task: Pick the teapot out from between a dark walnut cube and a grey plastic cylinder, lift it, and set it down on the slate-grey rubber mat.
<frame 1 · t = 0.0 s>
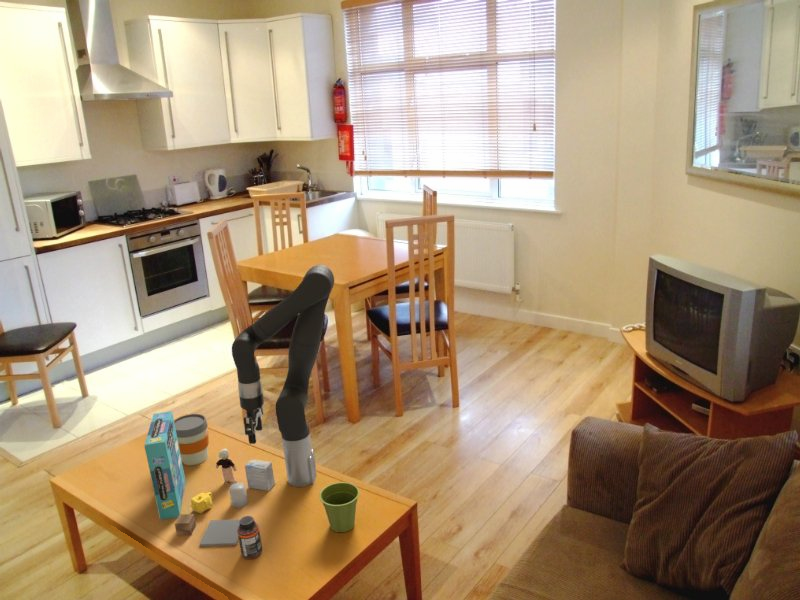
hand: (255, 436, 220), 17 cm above the table, tool pointing down, fingers open, 8 cm apart
slate mat: (223, 533, 200), on the table
grey cylinder: (239, 503, 214), on the table
walnut cube: (186, 530, 203), on the table
reusable coffee cup: (195, 458, 242), on the table
grandmother figurine: (229, 482, 226), on the table
medicine box: (261, 486, 223), on the table
game box: (173, 500, 218), on the table
supplement bottle: (252, 553, 191), on the table
teapot: (203, 510, 212), on the table
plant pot: (343, 525, 200), on the table
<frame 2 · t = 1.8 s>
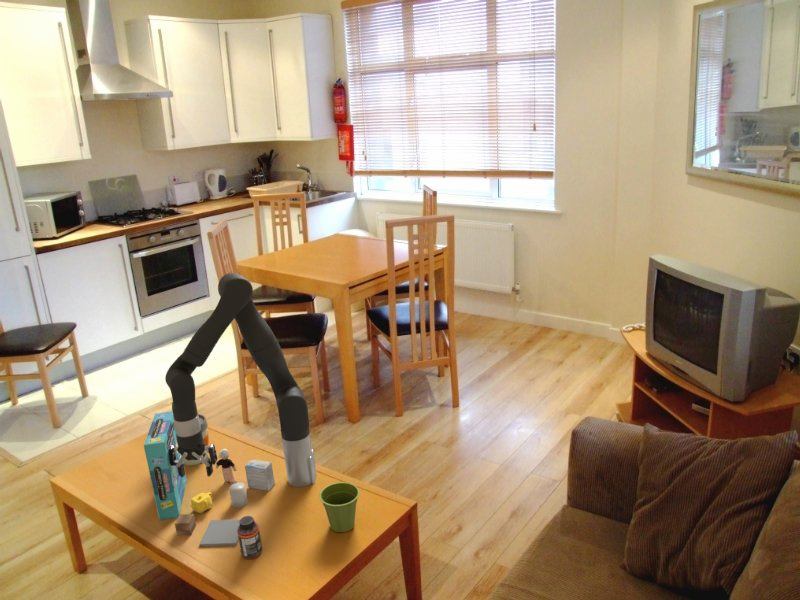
hand: (196, 475, 208), 13 cm above the table, tool pointing down, fingers open, 8 cm apart
nothing on the table moved.
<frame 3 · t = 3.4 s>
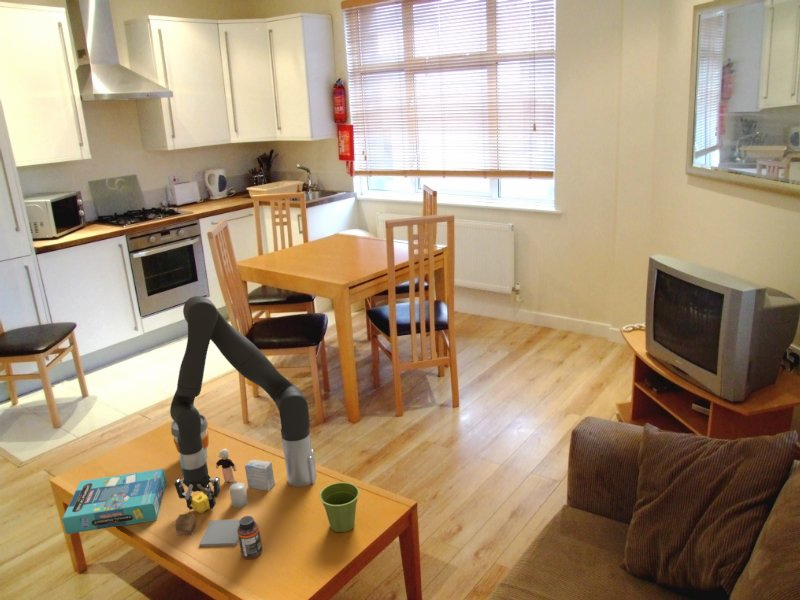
hand: (201, 507, 212), 1 cm above the table, tool pointing down, fingers closed on teapot, 6 cm apart
game box: (161, 493, 217), point 3 cm above the table
teapot: (203, 510, 212), on the table, touching gripper
everything else where it was.
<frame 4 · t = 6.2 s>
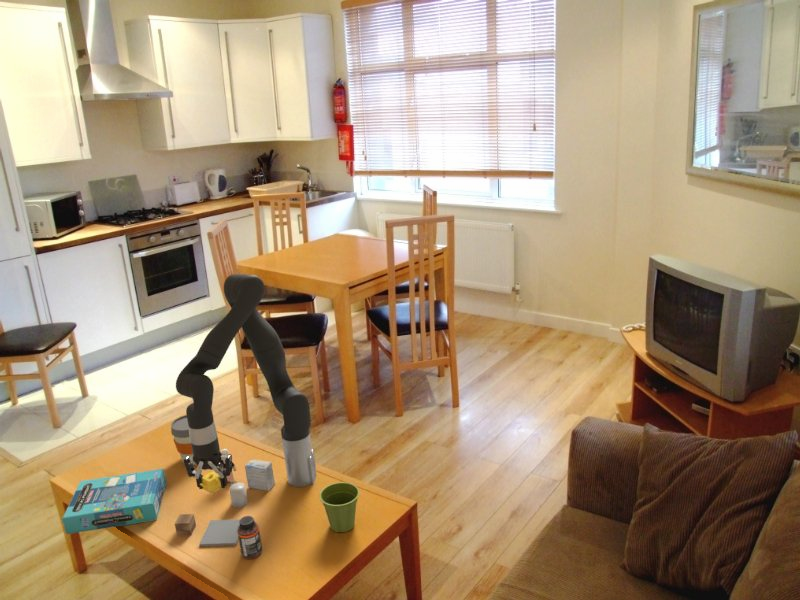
hand: (212, 487, 196), 16 cm above the table, tool pointing down, fingers closed on teapot, 6 cm apart
teapot: (215, 490, 197), point 14 cm above the table, touching gripper
everything else where it was.
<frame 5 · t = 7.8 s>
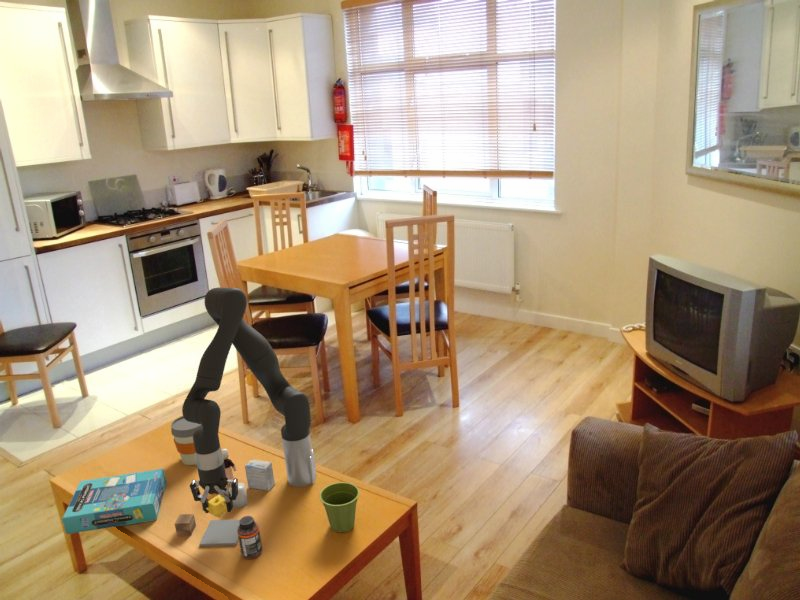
hand: (218, 511, 198), 8 cm above the table, tool pointing down, fingers closed on teapot, 6 cm apart
teapot: (220, 514, 198), point 7 cm above the table, touching gripper
everything else where it was.
when the fingers open (3 cm above the table, at t = 9.3 s): teapot drops 1 cm, resting on slate mat.
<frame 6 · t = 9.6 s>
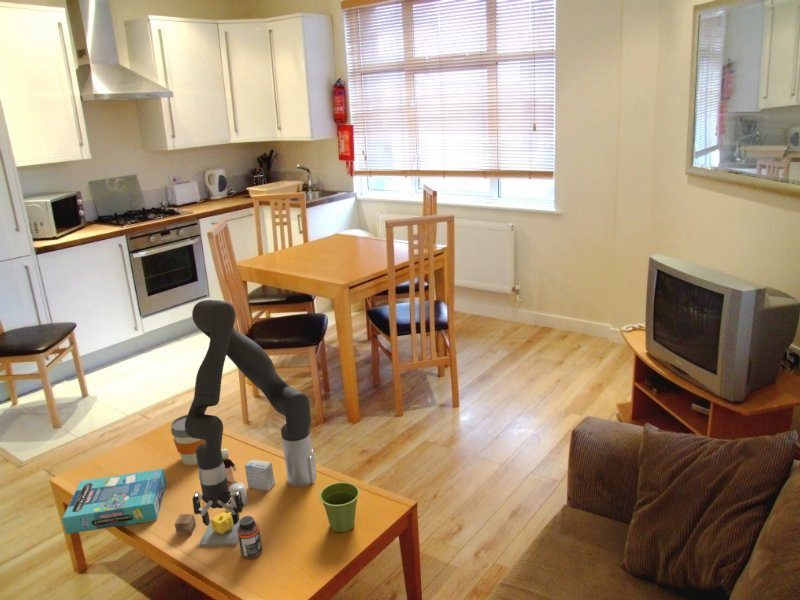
hand: (221, 523, 199), 4 cm above the table, tool pointing down, fingers open, 8 cm apart
teapot: (224, 531, 200), point 1 cm above the table, touching slate mat
everything else where it was.
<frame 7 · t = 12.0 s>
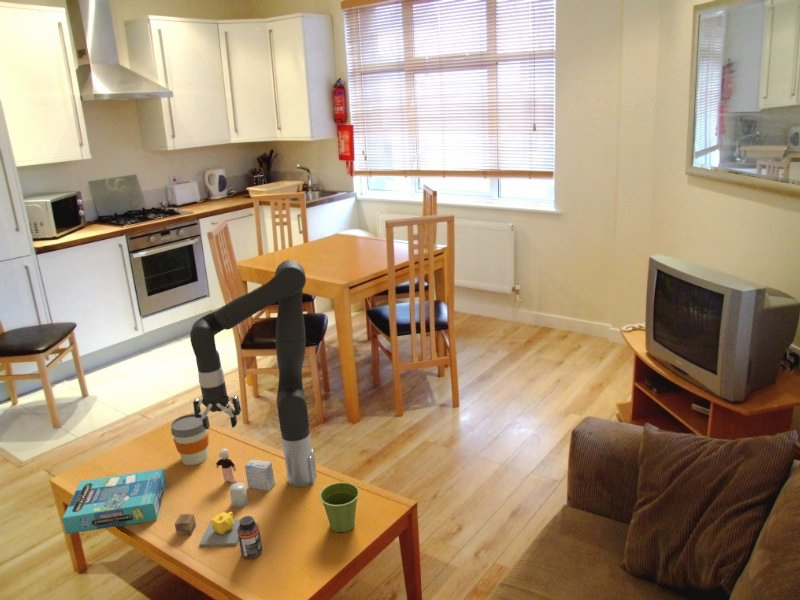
hand: (220, 427, 213), 24 cm above the table, tool pointing down, fingers open, 8 cm apart
nothing on the table moved.
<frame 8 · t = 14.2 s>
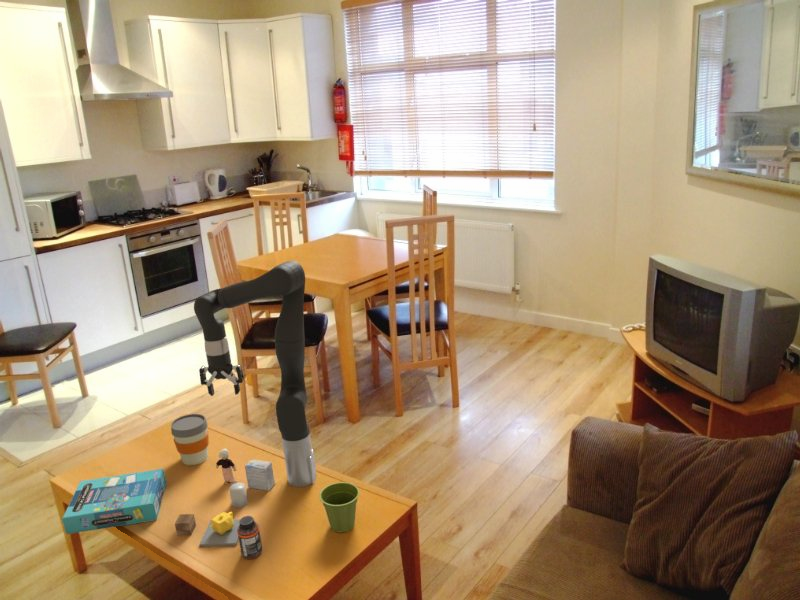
hand: (224, 394, 227), 28 cm above the table, tool pointing down, fingers open, 8 cm apart
nothing on the table moved.
at the end: teapot inside the target area on the slate mat (0.4 cm from its centre), point 0.6 cm above the slate mat's base; the gripper is holding nothing; walnut cube moved 0.1 cm from its start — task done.
